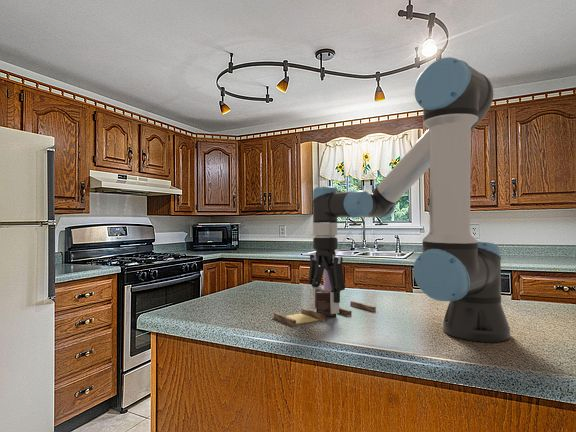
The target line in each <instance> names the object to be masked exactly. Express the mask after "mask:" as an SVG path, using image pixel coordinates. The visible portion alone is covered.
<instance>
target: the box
mask: <svg viewBox="0 0 576 432" xmlns="http://www.w3.org/2000/svg"><path fill="white" fill-rule="evenodd" d="M331 290H332V289H324V288H323V289H316V308H315V310H316V311H315V312H317V313H320V314H323V315H325V318H326V317H330V318H331V317H332V318H333V317H337V313H336V314H331V301H330V292H331Z"/></svg>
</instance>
